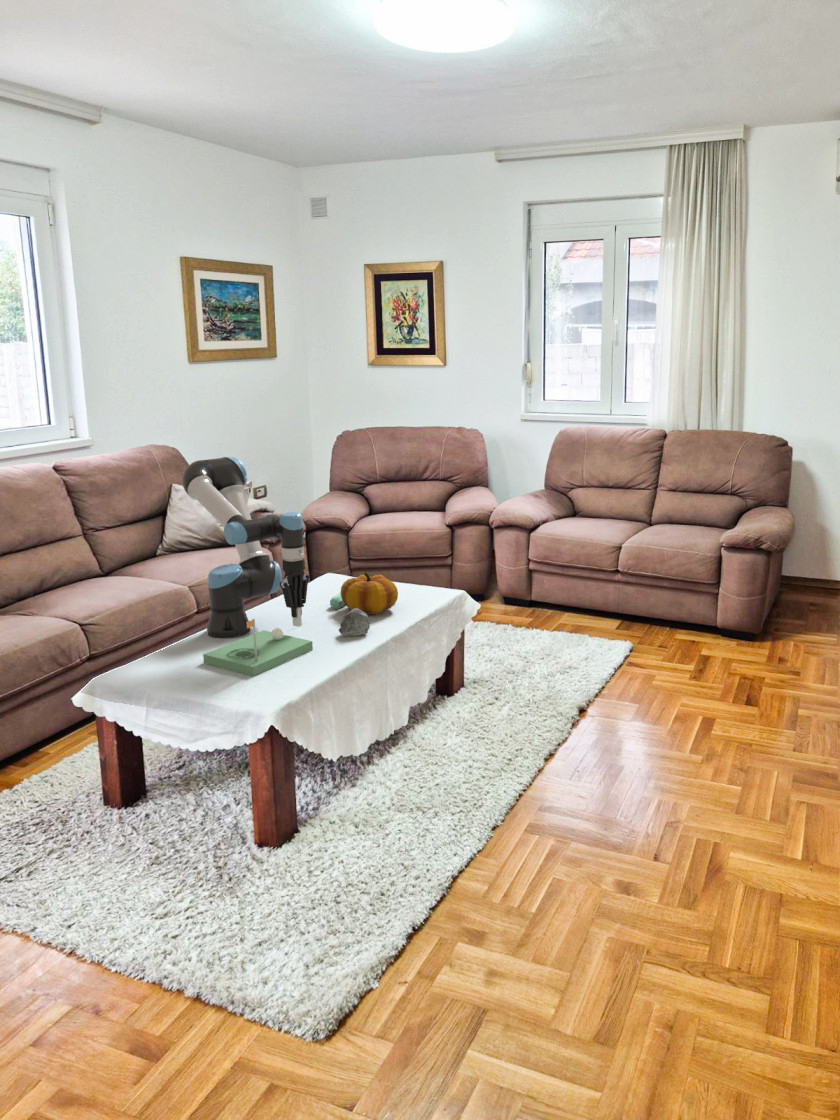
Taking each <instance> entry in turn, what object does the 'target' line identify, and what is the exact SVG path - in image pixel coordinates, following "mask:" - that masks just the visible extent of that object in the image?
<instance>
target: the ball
mask: <svg viewBox="0 0 840 1120" xmlns="http://www.w3.org/2000/svg"><path fill="white" fill-rule="evenodd" d="M270 632H271V636H272V638H273V639H274V640H280V639H281V638H282V637H283V635H284V632H283V630H282V629H281V628H279V627H276V628H273V629H272V630H271V631H270Z"/></svg>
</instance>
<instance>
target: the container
mask: <svg viewBox="0 0 840 1120" xmlns="http://www.w3.org/2000/svg"><path fill="white" fill-rule="evenodd" d="M329 601H330V602H329V603H330V604H329V605H330V607H331V608H332V609H336V610H339V609H340V608H343V606H346V605H345V604H344V602H343V600H342V598H341V593H340V592H339V593H338V594H336V595H334V596H333V597H332V598H331V599H329Z"/></svg>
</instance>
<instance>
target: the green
mask: <svg viewBox="0 0 840 1120" xmlns="http://www.w3.org/2000/svg"><path fill="white" fill-rule="evenodd" d="M248 628H250V629H251V628H253V629H252V633H253V634H251V635H248V636H245V637H243V638H241V639H237V640H236V641H235V640H234V641H233V642H231V643H227V644H225V645H223V646H221V647H218V648H216V649H214V650H213V649H212V650H210V651H208V652H205V653H203V654H202V655H203V656H202V658H203V664H207V665H209V666H214V667H218V668H222V669H225V670H229V671H233V672H238V673H240V674H244V675H247V676H253V677H255V676H257V675H259V674H262V673H264V672H266V671H269V670H271V669H273V668H275V667H277V666H279V665H283V664H284V663H286V662H289V661H291V660H293V659H295V658H298V657H300V656H302V655H304V654H306V653H308V652H311V651H313V648H314V647H313V640H309V639H305V638H301V637H300V638H299V637H296V636H292V635H287V634H283V637H282V638H281V639H280V640H274V639H273V638H272V636H271V632H272V631H269V630H265V629H263V630H260V631H258V632H256V619H255V618H252V619H251V620H248V622H247V629H248Z"/></svg>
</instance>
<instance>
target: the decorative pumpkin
mask: <svg viewBox="0 0 840 1120" xmlns="http://www.w3.org/2000/svg"><path fill="white" fill-rule="evenodd" d="M339 593H341V598H342V600H343V602H344V604H345V605H344V606H346V607H347V608H348V609H349V610H350V611H351V610H353V609H354V608H358V609H360V610H361V611H363V612H365V613H366V614H370V615H378V614H380V613H382V612H384V611H387V610H390V609H391V608H393V607H394V606H395V604H396V602H397V601H398V597H399V592H398V588H397V586H396V584H395V583H394V582H393V581H392V580H390V579H388V578H386V577H385V576H384V575H382V574H375V575H372V576H371V575H369V574H368V573H367V572H366V571H365V572H364V573H363V574H360V575H359V576H357V577H352V578H348V579H347V580H346V581H344V582H343V584H342V585H341V587H340V592H339Z"/></svg>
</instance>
